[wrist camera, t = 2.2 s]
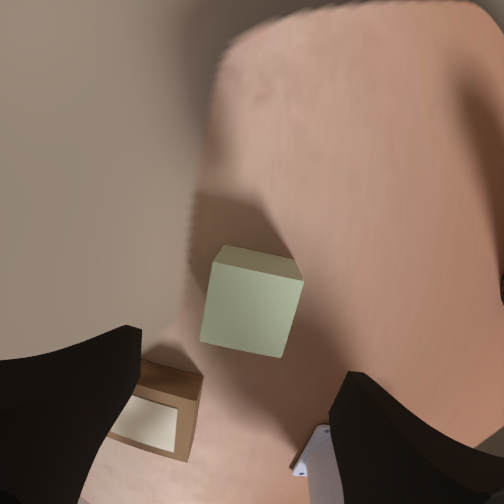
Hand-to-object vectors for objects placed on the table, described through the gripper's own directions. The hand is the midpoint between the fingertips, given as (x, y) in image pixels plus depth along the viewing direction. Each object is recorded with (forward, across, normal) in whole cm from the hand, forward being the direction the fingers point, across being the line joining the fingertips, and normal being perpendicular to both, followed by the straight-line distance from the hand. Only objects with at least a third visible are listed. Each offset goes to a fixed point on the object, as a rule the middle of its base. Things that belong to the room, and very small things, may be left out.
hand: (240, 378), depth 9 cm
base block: (+10, +6, +12) cm, 17 cm away
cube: (+10, 0, 0) cm, 10 cm away
